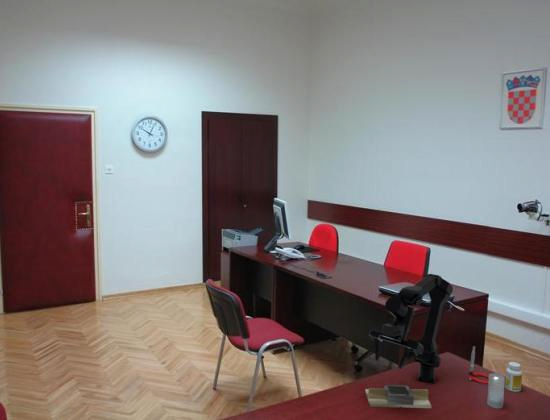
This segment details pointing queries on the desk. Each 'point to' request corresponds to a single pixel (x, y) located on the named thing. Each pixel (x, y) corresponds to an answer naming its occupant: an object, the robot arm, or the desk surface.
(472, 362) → the tow hook
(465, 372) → the desk surface
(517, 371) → the supplement bottle
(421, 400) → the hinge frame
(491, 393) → the silver metal cylinder
